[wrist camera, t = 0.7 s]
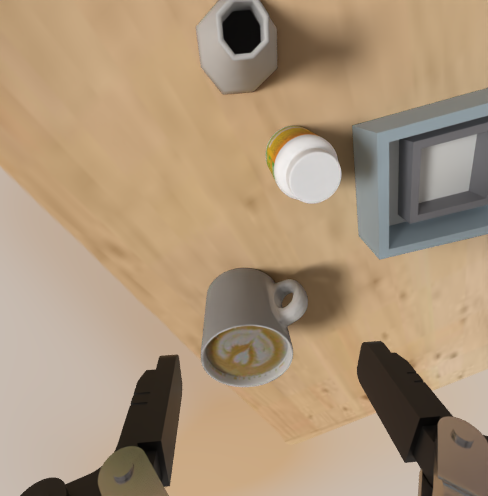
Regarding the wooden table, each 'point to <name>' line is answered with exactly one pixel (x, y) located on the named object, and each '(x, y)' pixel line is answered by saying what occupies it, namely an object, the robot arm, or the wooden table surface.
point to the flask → (237, 45)
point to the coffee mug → (249, 327)
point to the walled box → (423, 175)
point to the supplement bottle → (303, 164)
